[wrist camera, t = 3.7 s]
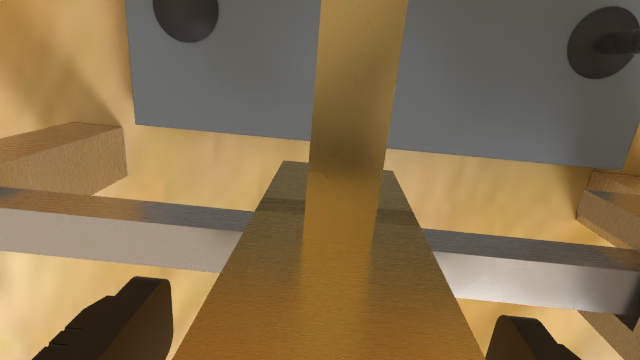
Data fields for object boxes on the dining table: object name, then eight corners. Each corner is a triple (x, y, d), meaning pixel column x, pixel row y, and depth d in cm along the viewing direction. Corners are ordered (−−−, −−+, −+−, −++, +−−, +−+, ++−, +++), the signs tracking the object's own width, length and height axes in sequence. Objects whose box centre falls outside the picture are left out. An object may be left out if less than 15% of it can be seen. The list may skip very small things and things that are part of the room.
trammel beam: (50, -24, 18) (-504, -187, 6) (705, 33, 17) (1496, -29, 5) (80, 182, 22) (-234, 328, 10) (622, 235, 21) (992, 461, 9)
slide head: (305, -7, 16) (8, -626, 2) (400, 1, 16) (991, -575, 2) (291, 214, 20) (159, 638, 5) (369, 221, 20) (455, 676, 5)
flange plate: (131, -86, 17) (115, -97, 16) (678, -41, 16) (705, -49, 15) (146, 120, 20) (134, 124, 19) (604, 164, 20) (622, 171, 18)
